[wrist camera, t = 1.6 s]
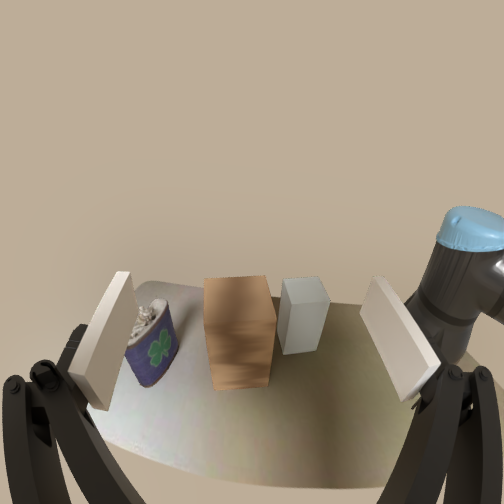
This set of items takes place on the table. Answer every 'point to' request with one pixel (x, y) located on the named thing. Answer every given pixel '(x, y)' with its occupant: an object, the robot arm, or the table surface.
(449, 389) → the robot arm
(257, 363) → the plain block
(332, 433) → the table surface
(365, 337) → the table surface
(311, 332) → the number block
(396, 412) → the table surface
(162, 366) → the flask
